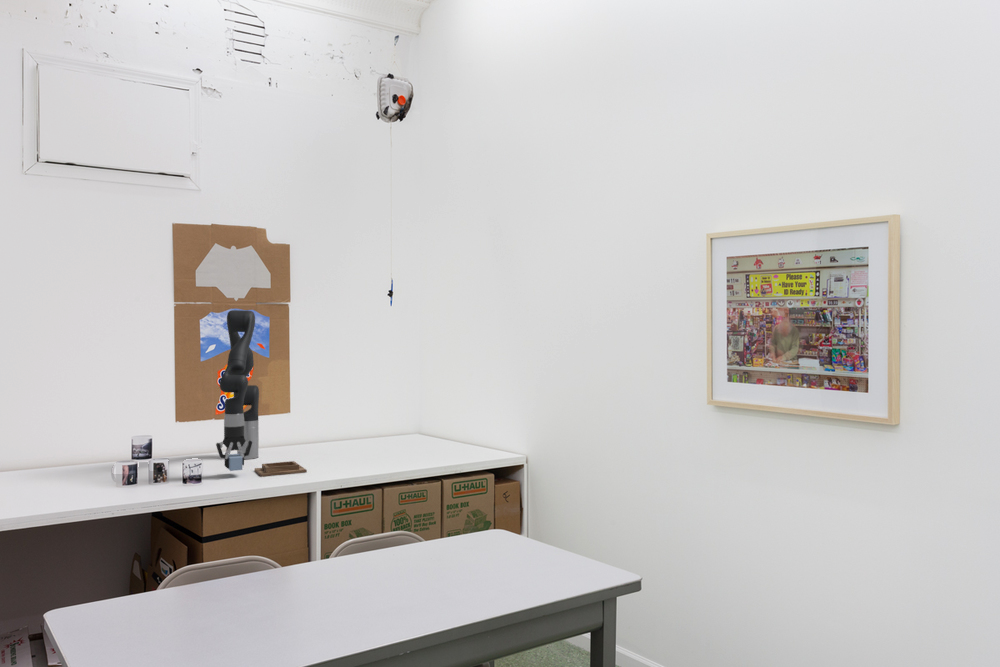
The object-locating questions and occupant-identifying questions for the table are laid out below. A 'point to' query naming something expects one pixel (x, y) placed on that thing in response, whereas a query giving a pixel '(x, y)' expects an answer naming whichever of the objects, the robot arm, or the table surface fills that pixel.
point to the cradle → (280, 469)
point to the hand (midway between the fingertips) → (234, 467)
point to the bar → (235, 462)
